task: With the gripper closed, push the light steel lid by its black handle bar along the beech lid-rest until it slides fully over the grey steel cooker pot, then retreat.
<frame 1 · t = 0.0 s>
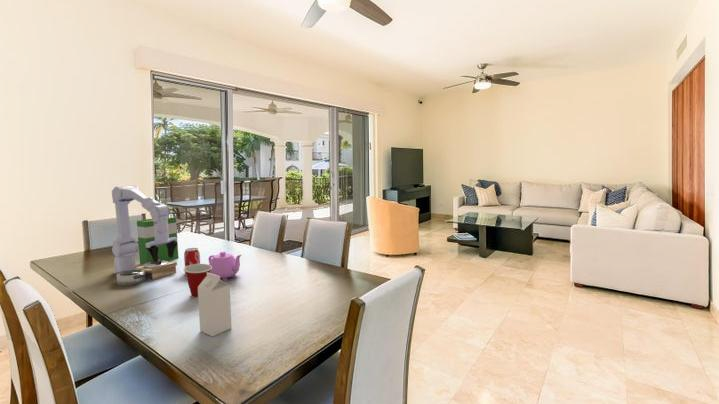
hand: (163, 259, 164), 10 cm above the table, tool pointing down, fingers open, 7 cm apart
lid: (156, 262, 174), point 6 cm above the table, slide at 12.5 cm
lid rest: (156, 274, 174), on the table
soda can: (193, 272, 177), on the table
hardback book: (159, 261, 198), on the table
milk carton: (216, 330, 116), on the table
cooker: (131, 281, 163), on the table
teapot: (225, 277, 169), on the table
plastic cup: (199, 295, 147), on the table
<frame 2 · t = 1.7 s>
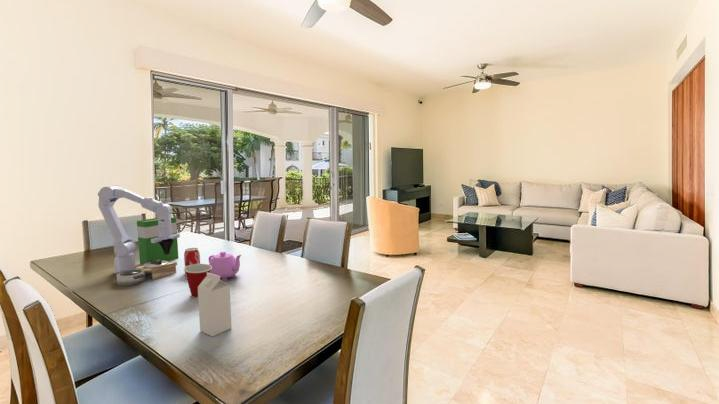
hand: (166, 254, 179), 9 cm above the table, tool pointing down, fingers closed
nothing on the table moved.
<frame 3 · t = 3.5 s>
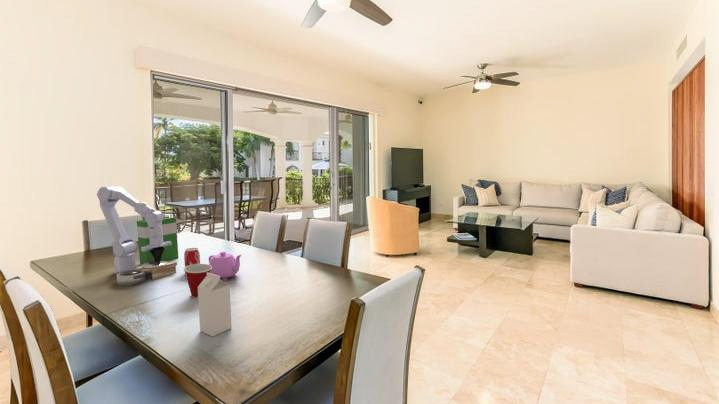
hand: (157, 262, 174), 6 cm above the table, tool pointing down, fingers closed
lid: (154, 263, 173), point 6 cm above the table, slide at 11.7 cm, touching gripper
everything else where it was.
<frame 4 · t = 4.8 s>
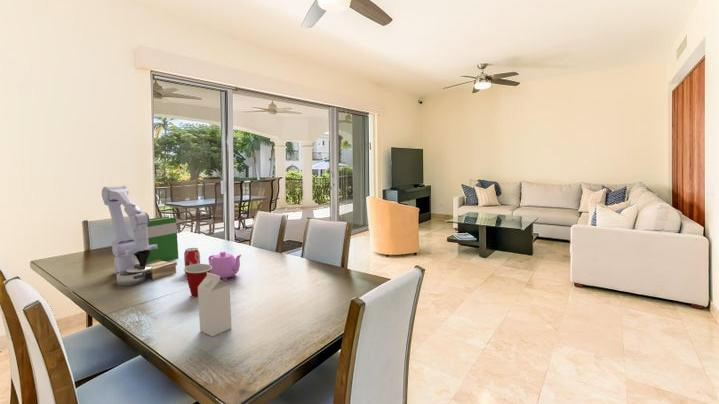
hand: (143, 266, 168), 6 cm above the table, tool pointing down, fingers closed
lid: (139, 267, 166), point 6 cm above the table, slide at 4.2 cm, touching gripper
everything else where it was.
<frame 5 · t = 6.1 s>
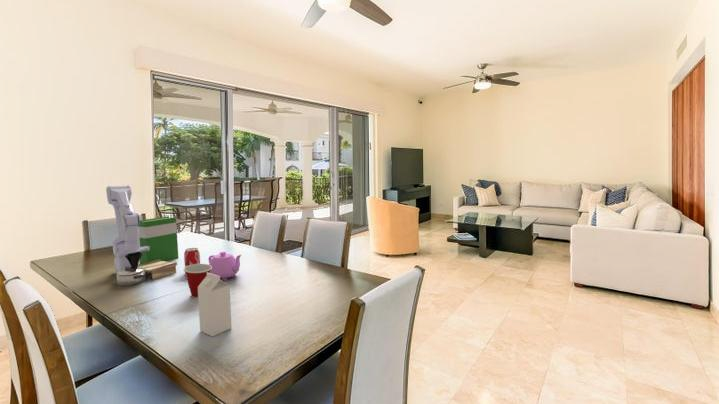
hand: (134, 268, 164), 6 cm above the table, tool pointing down, fingers closed
lid: (130, 269, 162), point 6 cm above the table, slide at 0.1 cm, touching gripper
everything else where it was.
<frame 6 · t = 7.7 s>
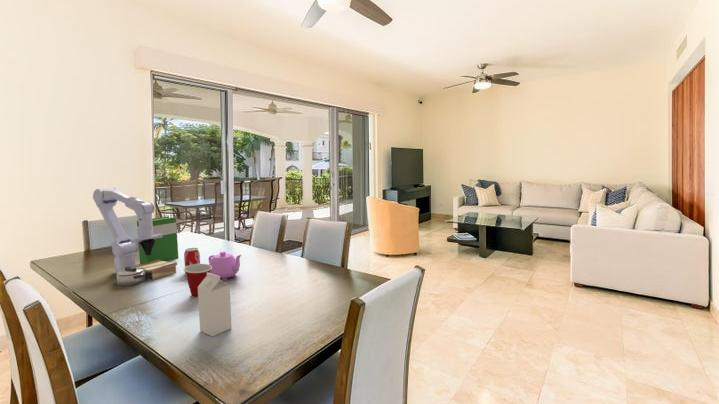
hand: (148, 254, 171), 10 cm above the table, tool pointing down, fingers closed
lid: (130, 269, 162), point 6 cm above the table, slide at 0.1 cm
everything else where it was.
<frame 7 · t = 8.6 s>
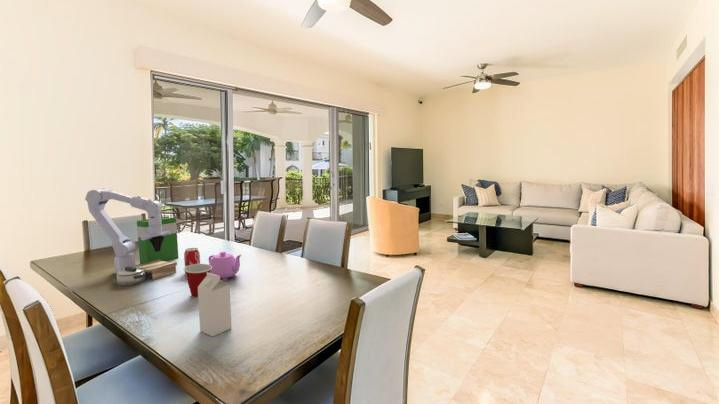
hand: (157, 251, 178), 10 cm above the table, tool pointing down, fingers closed
nothing on the table moved.
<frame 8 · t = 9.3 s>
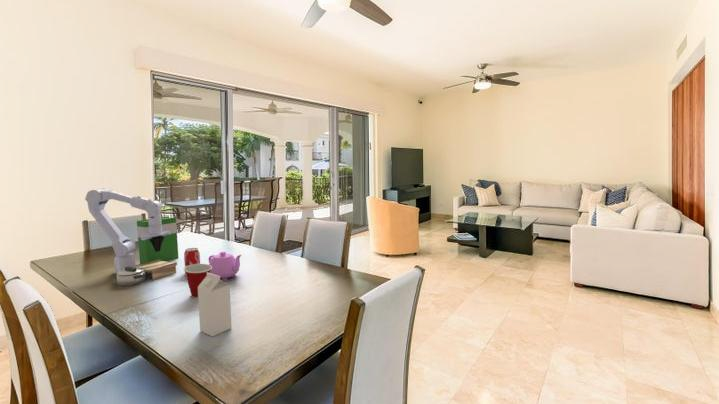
hand: (157, 251, 178), 10 cm above the table, tool pointing down, fingers closed
nothing on the table moved.
at the end: lid slide at 0.1 cm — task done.
